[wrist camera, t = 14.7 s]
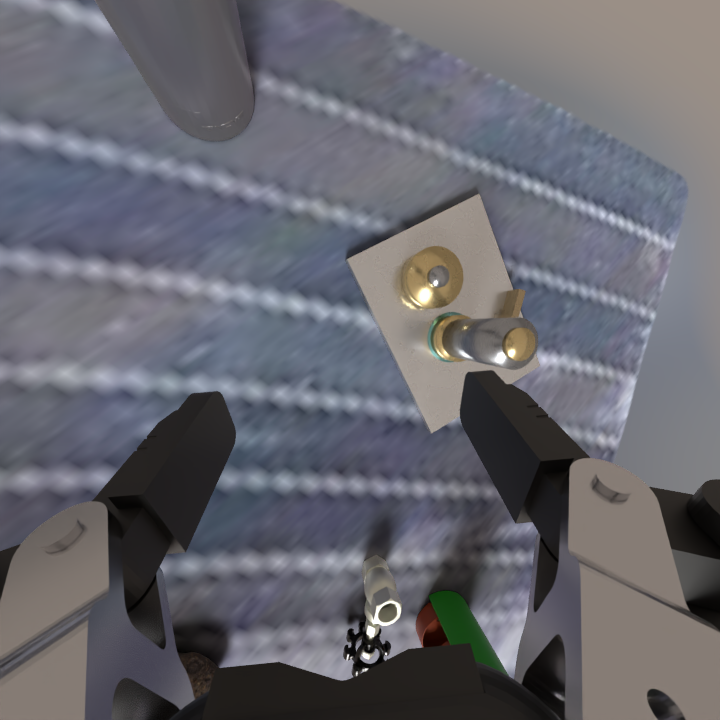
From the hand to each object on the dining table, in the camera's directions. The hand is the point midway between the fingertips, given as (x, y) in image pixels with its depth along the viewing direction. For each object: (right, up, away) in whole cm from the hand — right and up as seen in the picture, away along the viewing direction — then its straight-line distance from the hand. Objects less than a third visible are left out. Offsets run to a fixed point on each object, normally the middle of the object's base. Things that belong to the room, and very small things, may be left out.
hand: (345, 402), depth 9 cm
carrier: (+13, +7, +27) cm, 31 cm away
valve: (+2, -32, +31) cm, 44 cm away
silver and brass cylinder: (+12, +4, +26) cm, 29 cm away
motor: (+13, -39, +34) cm, 54 cm away
